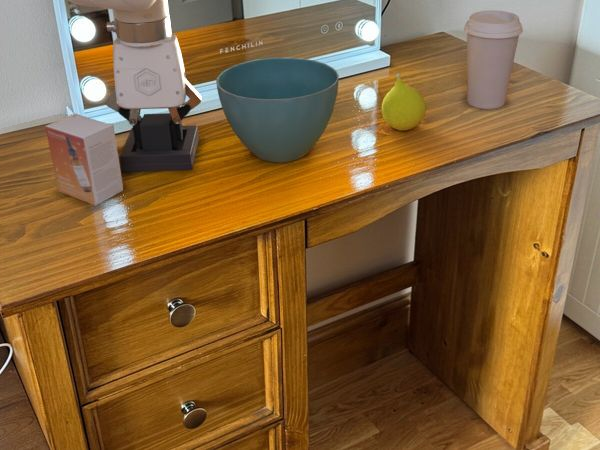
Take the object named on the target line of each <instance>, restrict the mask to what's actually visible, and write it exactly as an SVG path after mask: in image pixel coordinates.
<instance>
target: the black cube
mask: <svg viewBox="0 0 600 450" xmlns="http://www.w3.org/2000/svg"><path fill="white" fill-rule="evenodd" d="M141 118H142V121H141V123H140V133H141V140H142V146H143V152H144V151H172V150H173V148H174V147H173V143H172V135H171V127H170V125H171V122H172V120H171V119H172V117H171V115H170V112H165V113H161V112H160V113H144V114H143V116H142V117H141Z"/></svg>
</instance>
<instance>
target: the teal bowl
mask: <svg viewBox="0 0 600 450" xmlns="http://www.w3.org/2000/svg"><path fill="white" fill-rule="evenodd" d="M339 81H340V76H339V73H338V71H337V70H336V68H334V67H332V66H331V65H329V64H326V63H324V62H321V61H318V60H314V59H308V58H302V57H301V58H300V57H267V58H266V57H265V58H260V59H259V58H258V59H253V60H249V61H248V60H247V61H244V62H241V63H238V64H235V65H232V66H229V67H228V68H226V69H225V70H223V71H222V72H220V73H219V74H218V76H217V77H216V80H215V82H216V83H215V84H216V90H217V94H218V99H219V102H220V106H221V108H222V111H223V113H224V115H225V118H226V120H227V122H228V124H229V126H230V128H231V129H232V131H233V132H234V134H235V135H236V137H237V138H238V140H239V141H240V142H241V143H242V144H243V146H245V148H247V150H249V152H250V153H252V154H253V155H254V156H255V157H257V158H258V159H259V160H262V161H265V162H270V163H290V162H294V161H297V160H299V159H302V158H303V157H305V156H306V155H307V154H308V153H309V152H310V151H311V150H312V149H313V148H314V146H315V145H316V144H317V143H318V141H319V140H320V139H321V137H322V135H323V134H324V132H325V131H326V129H327V127H328V125H329V122H330V120H331V119H332V118H331V117H332V115H333V113H334V109H335V105H336V101H337V97H338V91H339Z"/></svg>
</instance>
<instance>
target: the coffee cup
mask: <svg viewBox="0 0 600 450" xmlns="http://www.w3.org/2000/svg"><path fill="white" fill-rule="evenodd" d="M463 30H464V32H465V33H466V101H467V104H468V105H470V106H471V107H473V108H477V109H482V110H494V109H495V110H496V109H499V108H502V107H503V106H505V104H506V99H507V95H508V90H509V85H510V79H511V75H512V72H513V71H512V70H513V66H514V60H515V56H516V53H517V47H518V42H519V37H520V35H522V34H523V32H524V28H523V24H522V23H521V21H520V17H519V16H518V15H517V14H515V13H513V12H509V11H504V10H481V11H476V12H474V13H471V15H470V16H469V18H468V20H467V21H466V23H465V24H464V27H463Z"/></svg>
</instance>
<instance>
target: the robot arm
mask: <svg viewBox="0 0 600 450" xmlns="http://www.w3.org/2000/svg"><path fill="white" fill-rule="evenodd" d="M66 2H68V3H71V4H74V5H77V6H81V7H82V6H83V7H89V8H96V9H105V10H106V9H107V10H114V16H115V19H114V20H112V21H107V22H106V31H107V32H112V33H115V34H116V38H115V40H113V45H112V65H113V79H114V88H113V89H112V91H111V93H110V94H109V96H108V97H107V99H106V101H105V105H106V107H108V108H110V109H111V110H113V111H115V112H117V113H118V114H119V115H120V116H121V117H123V118H124V119H125V120H126V121H127V122H128V124H129V125H130V126H132V128H133V133H134V139H135V142H138V143H139V149H143V146H142V140H141V133H140V123H141V121H142V118H143V117H142V115H141V110H155V109H157V110H158V109H159V110H160V109H168V113H170V115H171V117H172V119H171V120H172V122H171V125H170V127H171V135H172V143H173V147H174V148H178V145H179V142H180V141H182V140H183V132H182V126H183V125H182V124H183V123H182V121H183V120H184V118H185V117H186V116H188V114H189V113H190V112H191V111H192V110H193V109H195V108H197V106H199V105H200V104H201V103H202V100H203V97H202V96H201V94H200V93H199V92H198V91H197V90H196V88H195V87H194V86H193V85H192V84H191V83H190V82H189V81H188V80H187V74H186V70H185V64H184V60H183V55H182V51H181V48H180V43H179V41H178V38H177V34H174V33H172V27H171V18H170V10H169V9H170V8H169V2H168V0H66ZM186 98H188V100H187V101H186Z"/></svg>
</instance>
